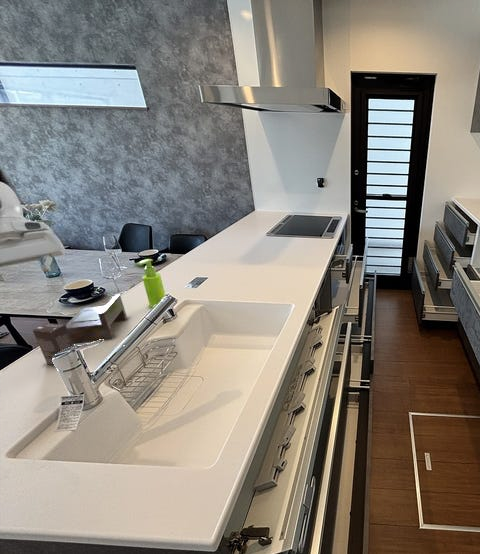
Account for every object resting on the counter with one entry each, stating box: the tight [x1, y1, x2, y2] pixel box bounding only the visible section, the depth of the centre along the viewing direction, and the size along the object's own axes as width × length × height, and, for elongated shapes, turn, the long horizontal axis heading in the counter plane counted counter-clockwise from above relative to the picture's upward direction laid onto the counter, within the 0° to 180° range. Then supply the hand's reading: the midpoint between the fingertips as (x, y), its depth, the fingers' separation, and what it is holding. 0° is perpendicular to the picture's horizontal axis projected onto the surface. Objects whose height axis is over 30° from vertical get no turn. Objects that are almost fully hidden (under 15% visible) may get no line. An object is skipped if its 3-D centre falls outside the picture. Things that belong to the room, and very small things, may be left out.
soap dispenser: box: [136, 258, 166, 309], centre depth 121 cm, size 6×7×20 cm
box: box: [32, 322, 75, 366], centre depth 90 cm, size 6×4×12 cm
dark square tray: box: [65, 294, 128, 345], centre depth 105 cm, size 12×14×10 cm
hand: (24, 275), depth 88 cm, fingers open, 8 cm apart
